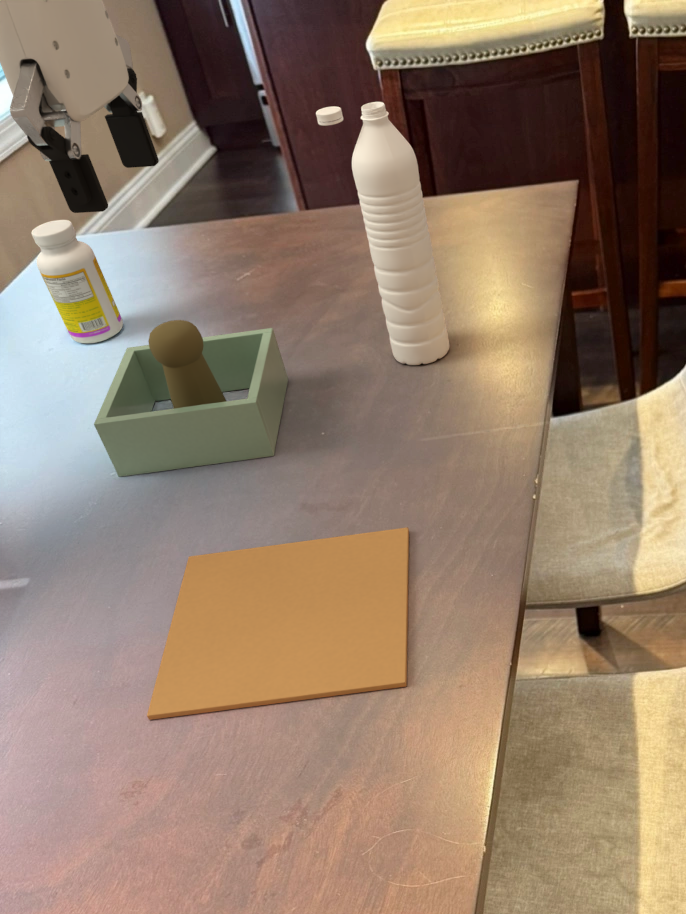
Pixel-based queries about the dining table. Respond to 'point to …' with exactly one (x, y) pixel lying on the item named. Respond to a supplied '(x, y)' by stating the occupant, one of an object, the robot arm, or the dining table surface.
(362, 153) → the bottle and cap
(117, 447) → the open box
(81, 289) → the supplement bottle
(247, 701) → the mat
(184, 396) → the pepper shaker
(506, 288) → the dining table surface
